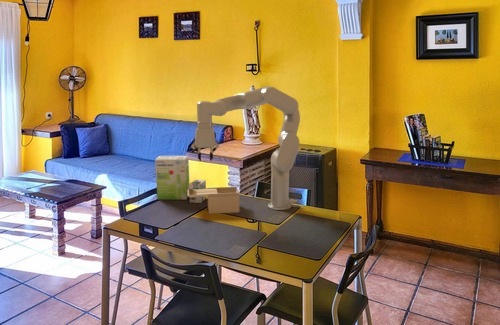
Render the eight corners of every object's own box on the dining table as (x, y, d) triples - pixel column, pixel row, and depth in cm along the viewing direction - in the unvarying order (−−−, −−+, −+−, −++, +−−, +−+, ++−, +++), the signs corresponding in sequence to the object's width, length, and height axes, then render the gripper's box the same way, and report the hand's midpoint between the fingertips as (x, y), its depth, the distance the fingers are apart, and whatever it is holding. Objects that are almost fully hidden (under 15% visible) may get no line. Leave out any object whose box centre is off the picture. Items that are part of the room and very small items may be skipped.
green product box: (156, 199, 239) (154, 158, 234) (160, 194, 249) (159, 155, 244) (187, 200, 239) (185, 159, 233) (190, 194, 249) (188, 155, 243)
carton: (236, 205, 231) (236, 186, 228) (239, 212, 219) (239, 193, 217) (207, 206, 228) (207, 187, 226) (208, 213, 217) (208, 194, 215)
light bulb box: (200, 203, 234) (200, 184, 231) (189, 202, 235) (188, 184, 232) (206, 197, 244) (206, 179, 241) (195, 197, 245) (195, 179, 243)
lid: (216, 190, 226) (216, 183, 225) (217, 195, 217) (217, 188, 216) (187, 191, 224) (187, 184, 223) (187, 196, 214) (187, 189, 213)
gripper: (220, 124, 217) (221, 158, 221) (188, 125, 215) (189, 159, 219) (222, 126, 210) (222, 161, 214) (188, 127, 208) (189, 162, 212)
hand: (205, 160), depth 216 cm, fingers open, 4 cm apart
